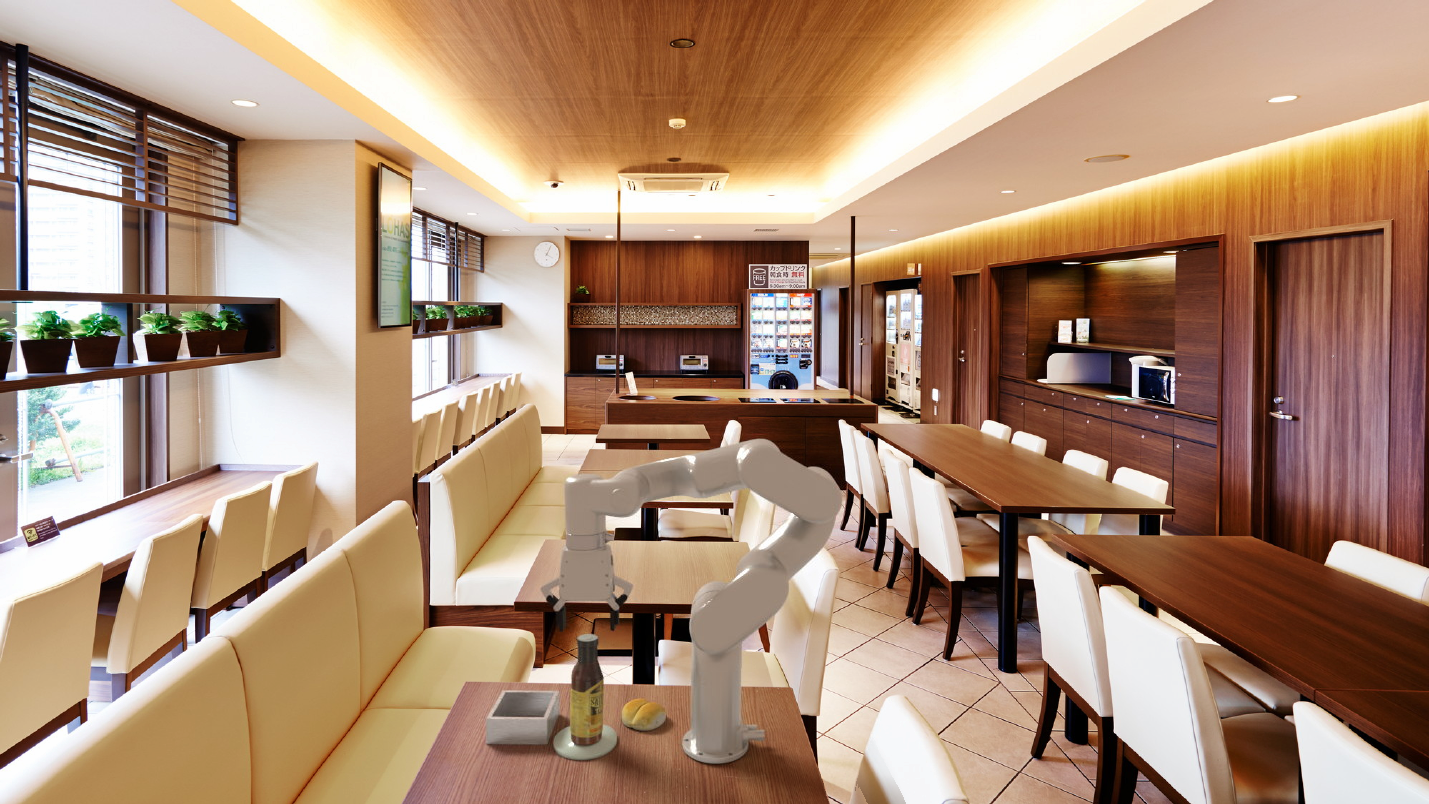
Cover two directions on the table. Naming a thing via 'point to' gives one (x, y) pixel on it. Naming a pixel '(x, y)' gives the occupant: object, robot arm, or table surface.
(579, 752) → the saucer
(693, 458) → the robot arm
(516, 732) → the square storage bin
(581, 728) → the sauce bottle
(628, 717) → the bread roll
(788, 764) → the table surface
